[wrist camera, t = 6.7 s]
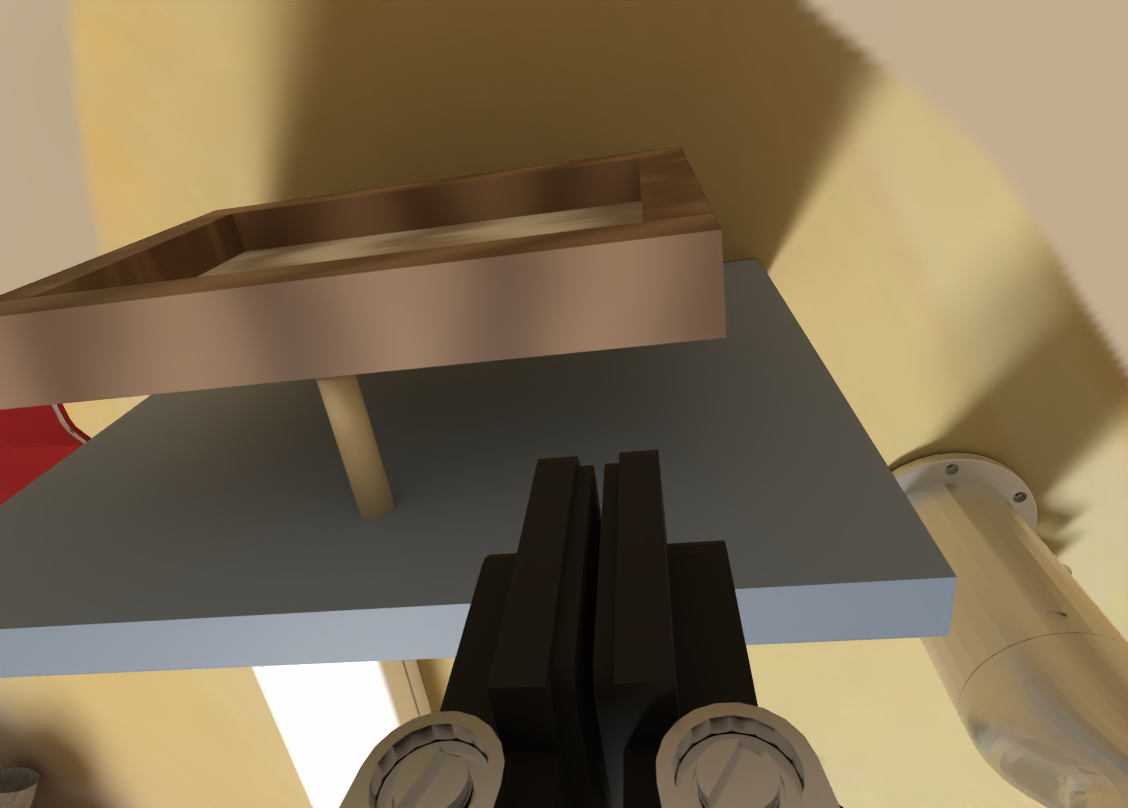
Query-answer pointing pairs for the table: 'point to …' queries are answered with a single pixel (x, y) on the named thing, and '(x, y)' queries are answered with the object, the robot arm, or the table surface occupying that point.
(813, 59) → the table surface
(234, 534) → the board
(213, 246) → the picture frame
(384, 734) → the laminator
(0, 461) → the emblem
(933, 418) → the table surface
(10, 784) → the bouquet
